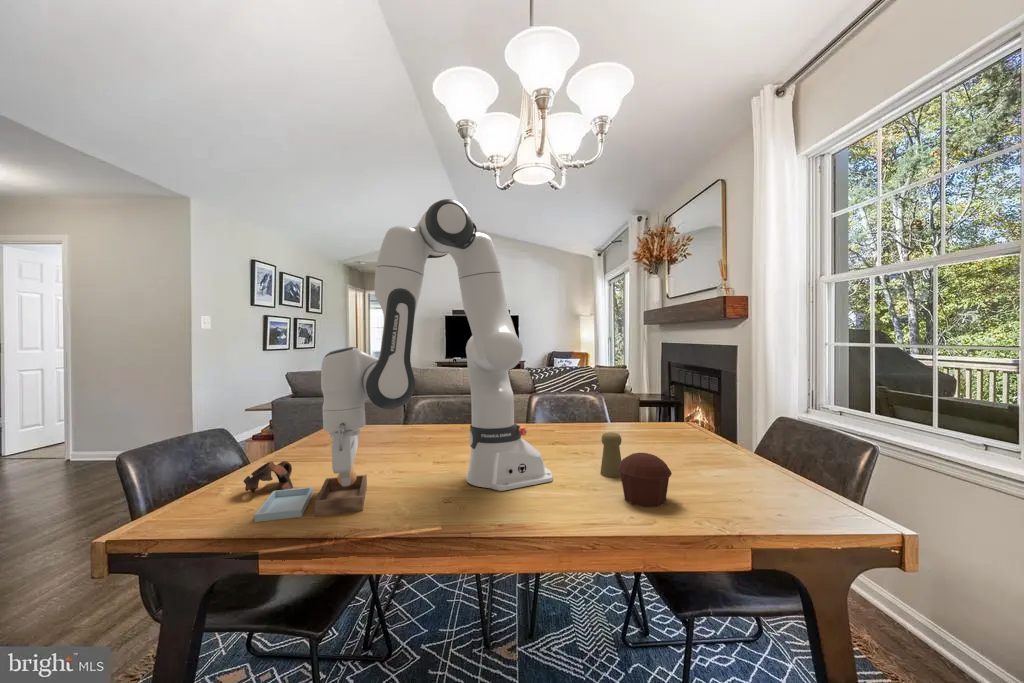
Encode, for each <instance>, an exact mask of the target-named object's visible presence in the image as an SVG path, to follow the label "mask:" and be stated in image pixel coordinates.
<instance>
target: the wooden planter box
mask: <svg viewBox="0 0 1024 683" xmlns="http://www.w3.org/2000/svg"><path fill="white" fill-rule="evenodd" d="M356 476H357V477H356V481H355V482H354V483H353V484H352V485H351V486H348V487H344V486H341V485H340V484H339V483H338V476H336V477H327V478H325V480H324V482H323V484H322V486H321V488H320V491H319V492H318V495H317V497H316V499H315V501H314V517H321V516H322V517H324V516H329V515H339V514H346V513H357V512H363V511H364V505H365V500H366V494H367V487H368V478H367V477H368V476H367V474H359V475H357V474H356Z"/></svg>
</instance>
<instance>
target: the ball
mask: <svg viewBox="0 0 1024 683" xmlns="http://www.w3.org/2000/svg"><path fill="white" fill-rule="evenodd" d="M356 475H357V473H356V471H355V470H354V469H352V470H351V471H350V476H351V483H350V485H349V486H351V485H352V484H353V483H354V482H355V481H356V477H357V476H356ZM337 477H338V483H339V484H340V485H341V486H342V484H341V476H340V473H337ZM344 487H348V486H344Z"/></svg>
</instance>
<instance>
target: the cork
mask: <svg viewBox="0 0 1024 683" xmlns="http://www.w3.org/2000/svg"><path fill="white" fill-rule="evenodd" d="M621 436H622V435H620V434H619V433H616V432H612V431H609V432H604V433H603V434H602V435H601V443H602V445H603V449H602V456H601V466H600V475H601V476H602V477H604V478H610V479H616V478H617V479H619V478H621V474H620V472H619V471H618V466H619V464H620V463H621V461H622V456H621V455H622V454H621V448H620V446H621V444H622V437H621Z"/></svg>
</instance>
